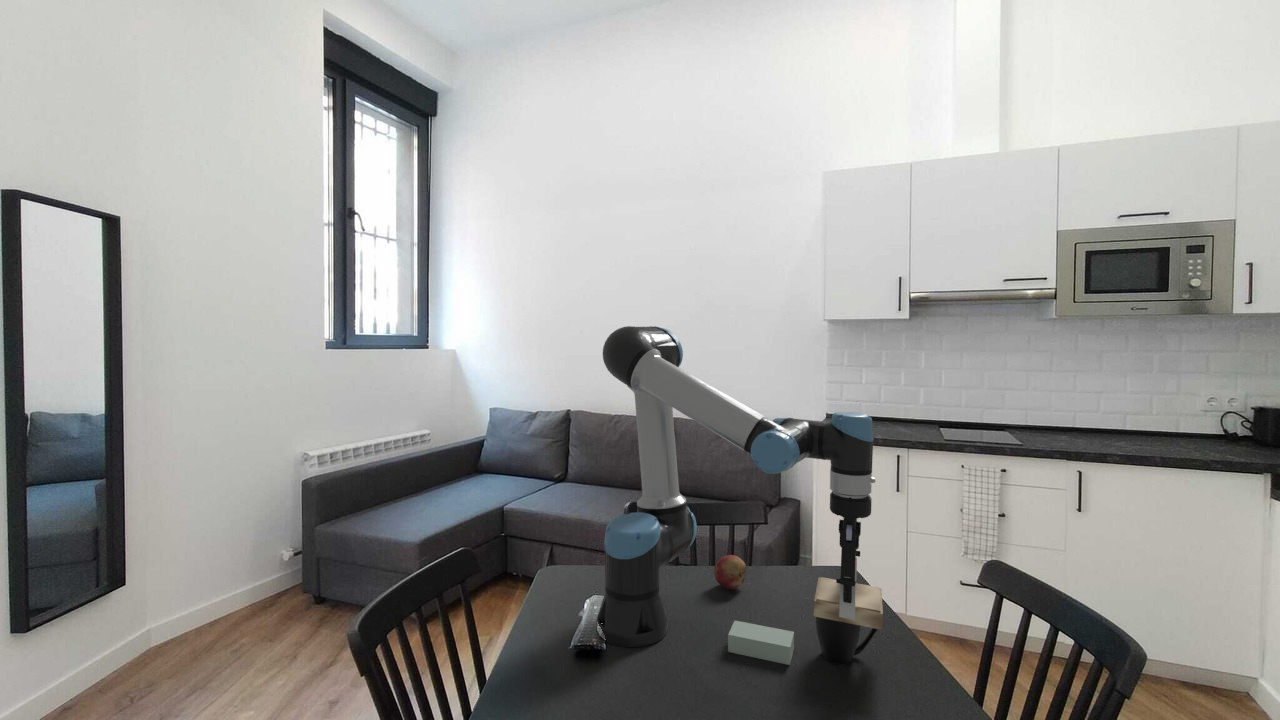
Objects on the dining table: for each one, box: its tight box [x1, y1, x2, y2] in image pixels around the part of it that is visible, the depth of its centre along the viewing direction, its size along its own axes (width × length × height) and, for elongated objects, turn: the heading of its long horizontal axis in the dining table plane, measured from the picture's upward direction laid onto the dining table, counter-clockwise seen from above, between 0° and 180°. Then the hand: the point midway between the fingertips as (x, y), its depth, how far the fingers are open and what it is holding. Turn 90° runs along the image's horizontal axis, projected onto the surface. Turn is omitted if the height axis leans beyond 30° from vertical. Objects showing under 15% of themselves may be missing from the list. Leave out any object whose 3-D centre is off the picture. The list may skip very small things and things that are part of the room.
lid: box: [813, 576, 884, 631], centre depth 111 cm, size 12×11×3 cm
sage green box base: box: [727, 620, 795, 666], centre depth 114 cm, size 12×6×4 cm, turn 68°
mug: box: [815, 617, 878, 666], centre depth 111 cm, size 8×12×10 cm
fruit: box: [713, 554, 747, 590], centre depth 141 cm, size 8×8×8 cm
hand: (848, 602), depth 111 cm, fingers open, 12 cm apart
